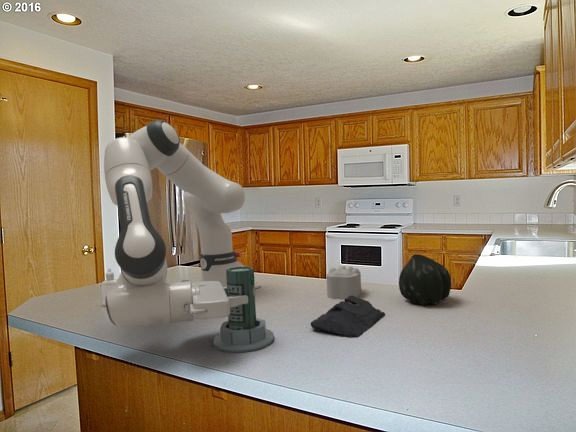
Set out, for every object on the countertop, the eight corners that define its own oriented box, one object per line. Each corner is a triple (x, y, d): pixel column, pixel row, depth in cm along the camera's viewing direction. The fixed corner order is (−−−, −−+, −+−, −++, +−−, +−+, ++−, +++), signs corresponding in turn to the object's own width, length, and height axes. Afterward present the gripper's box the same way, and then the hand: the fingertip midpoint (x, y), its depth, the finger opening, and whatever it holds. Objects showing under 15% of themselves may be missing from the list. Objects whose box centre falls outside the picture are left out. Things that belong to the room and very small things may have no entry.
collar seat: (248, 327, 107) (247, 311, 106) (286, 338, 97) (285, 322, 96) (202, 343, 97) (200, 326, 97) (239, 358, 87) (237, 339, 87)
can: (260, 330, 98) (258, 267, 97) (245, 338, 92) (242, 272, 92) (240, 326, 101) (237, 265, 100) (224, 334, 96) (221, 270, 95)
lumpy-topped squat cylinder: (324, 298, 131) (323, 271, 131) (334, 288, 143) (333, 263, 143) (357, 299, 128) (356, 272, 127) (364, 289, 140) (363, 264, 139)
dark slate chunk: (300, 332, 102) (299, 313, 102) (337, 308, 121) (336, 292, 120) (358, 341, 94) (357, 321, 94) (388, 314, 113) (388, 297, 112)
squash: (467, 281, 121) (432, 242, 126) (451, 295, 110) (412, 251, 115) (433, 307, 129) (400, 269, 134) (414, 322, 117) (379, 280, 123)
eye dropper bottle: (112, 307, 133) (109, 270, 133) (100, 305, 136) (97, 269, 135) (123, 303, 137) (120, 267, 136) (111, 302, 140) (108, 267, 139)
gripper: (183, 298, 83) (252, 291, 86) (182, 278, 102) (238, 273, 106) (185, 329, 83) (253, 321, 87) (184, 303, 103) (239, 297, 106)
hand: (245, 294), depth 96 cm, fingers closed on can, 6 cm apart
